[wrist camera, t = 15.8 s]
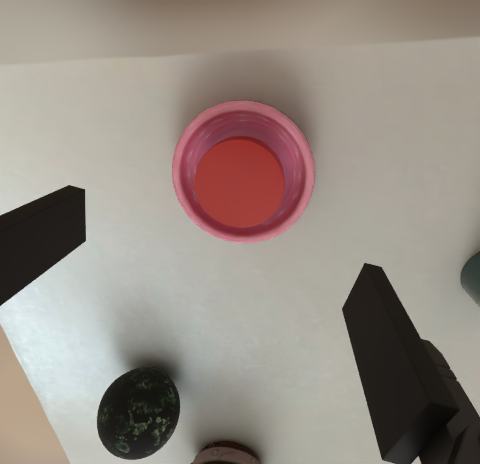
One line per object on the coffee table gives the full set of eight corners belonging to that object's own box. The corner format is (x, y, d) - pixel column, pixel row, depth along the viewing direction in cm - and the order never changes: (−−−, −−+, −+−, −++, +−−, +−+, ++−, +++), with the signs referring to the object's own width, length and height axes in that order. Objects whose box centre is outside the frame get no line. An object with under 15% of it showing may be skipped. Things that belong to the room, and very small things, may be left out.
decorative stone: (161, 342, 39) (126, 416, 31) (202, 390, 43) (182, 469, 34) (107, 363, 43) (61, 435, 34) (149, 406, 46) (117, 483, 37)
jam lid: (242, 234, 28) (240, 244, 26) (182, 180, 26) (176, 187, 24) (302, 179, 25) (304, 186, 23) (239, 115, 23) (235, 117, 22)
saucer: (174, 214, 31) (164, 226, 28) (190, 84, 26) (179, 84, 23) (290, 242, 31) (291, 257, 28) (330, 117, 25) (337, 121, 23)
